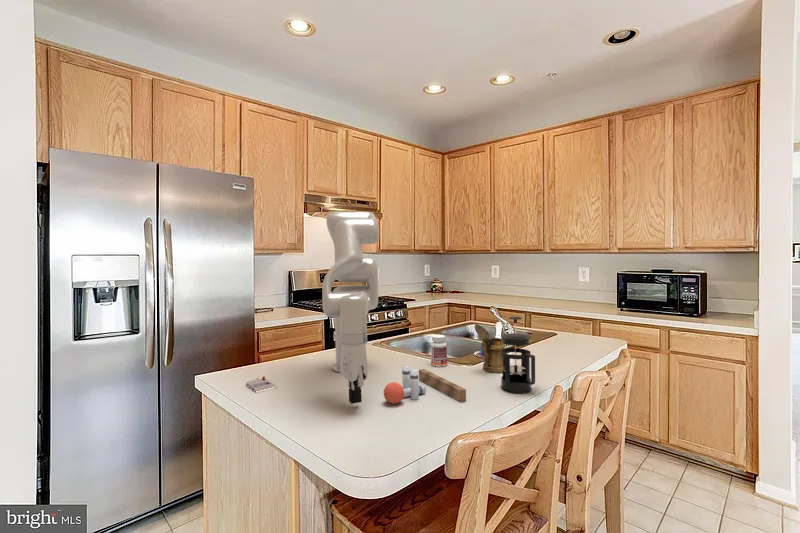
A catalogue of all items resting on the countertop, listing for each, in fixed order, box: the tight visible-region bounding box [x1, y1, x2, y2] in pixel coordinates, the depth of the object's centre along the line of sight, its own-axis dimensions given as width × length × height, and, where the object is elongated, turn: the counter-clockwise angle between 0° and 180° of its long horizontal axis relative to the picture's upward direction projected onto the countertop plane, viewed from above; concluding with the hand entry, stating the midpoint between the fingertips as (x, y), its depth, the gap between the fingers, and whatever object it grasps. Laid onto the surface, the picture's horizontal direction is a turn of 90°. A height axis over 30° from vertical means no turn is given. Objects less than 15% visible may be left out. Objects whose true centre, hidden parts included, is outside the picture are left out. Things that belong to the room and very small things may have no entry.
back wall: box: [418, 368, 467, 403], centre depth 129 cm, size 24×2×4 cm, turn 27°
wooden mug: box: [474, 323, 506, 374], centre depth 149 cm, size 9×14×18 cm, turn 121°
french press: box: [500, 315, 536, 395], centre depth 128 cm, size 12×9×23 cm
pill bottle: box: [430, 334, 448, 368], centre depth 157 cm, size 6×6×11 cm
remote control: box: [245, 376, 276, 391], centre depth 136 cm, size 7×16×3 cm, turn 39°
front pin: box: [403, 384, 427, 398], centre depth 125 cm, size 2×2×8 cm
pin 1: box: [401, 364, 411, 389], centre depth 126 cm, size 2×2×8 cm
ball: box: [383, 381, 405, 405], centre depth 119 cm, size 6×6×6 cm
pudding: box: [473, 343, 484, 358], centre depth 171 cm, size 12×12×5 cm
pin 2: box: [410, 368, 420, 401], centre depth 122 cm, size 2×2×8 cm
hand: (355, 402), depth 116 cm, fingers closed
